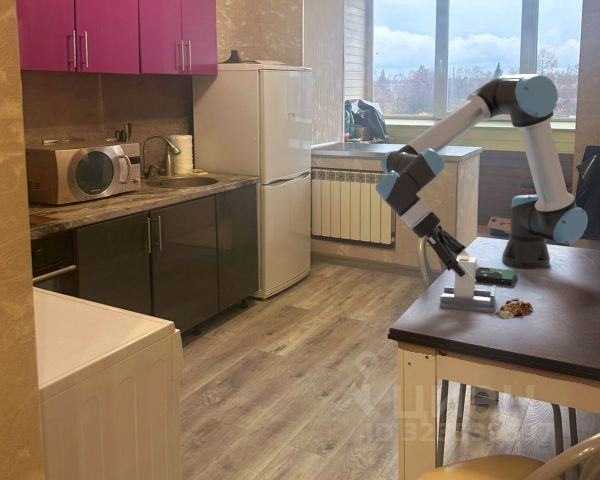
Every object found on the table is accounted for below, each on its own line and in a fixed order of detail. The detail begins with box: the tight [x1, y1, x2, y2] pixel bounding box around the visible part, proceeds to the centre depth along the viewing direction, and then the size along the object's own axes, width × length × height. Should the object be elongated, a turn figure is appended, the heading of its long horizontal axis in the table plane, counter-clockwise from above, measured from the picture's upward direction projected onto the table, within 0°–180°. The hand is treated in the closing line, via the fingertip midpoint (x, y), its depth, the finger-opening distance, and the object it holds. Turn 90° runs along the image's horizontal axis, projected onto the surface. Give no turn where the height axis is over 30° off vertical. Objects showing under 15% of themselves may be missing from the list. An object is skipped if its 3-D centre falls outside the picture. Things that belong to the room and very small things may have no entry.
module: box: [453, 255, 477, 298], centre depth 179 cm, size 5×6×11 cm
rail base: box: [439, 284, 497, 314], centre depth 180 cm, size 14×12×4 cm
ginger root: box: [495, 297, 534, 320], centre depth 172 cm, size 7×12×4 cm, turn 140°
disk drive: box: [475, 266, 518, 287], centre depth 202 cm, size 10×3×15 cm
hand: (474, 276), depth 178 cm, fingers open, 13 cm apart
